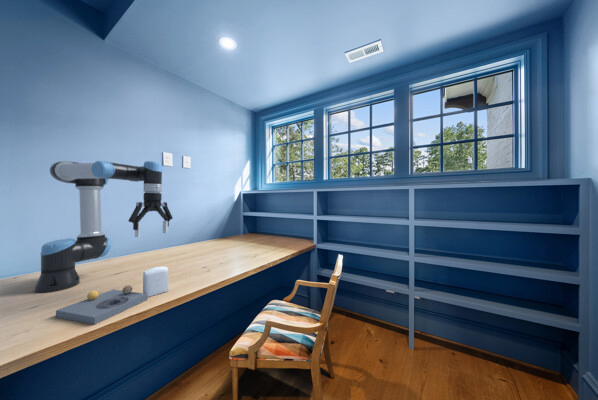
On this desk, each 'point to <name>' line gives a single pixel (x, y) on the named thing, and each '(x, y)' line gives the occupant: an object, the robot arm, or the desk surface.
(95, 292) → the ball
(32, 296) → the desk surface
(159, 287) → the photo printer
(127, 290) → the cork ball
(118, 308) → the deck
